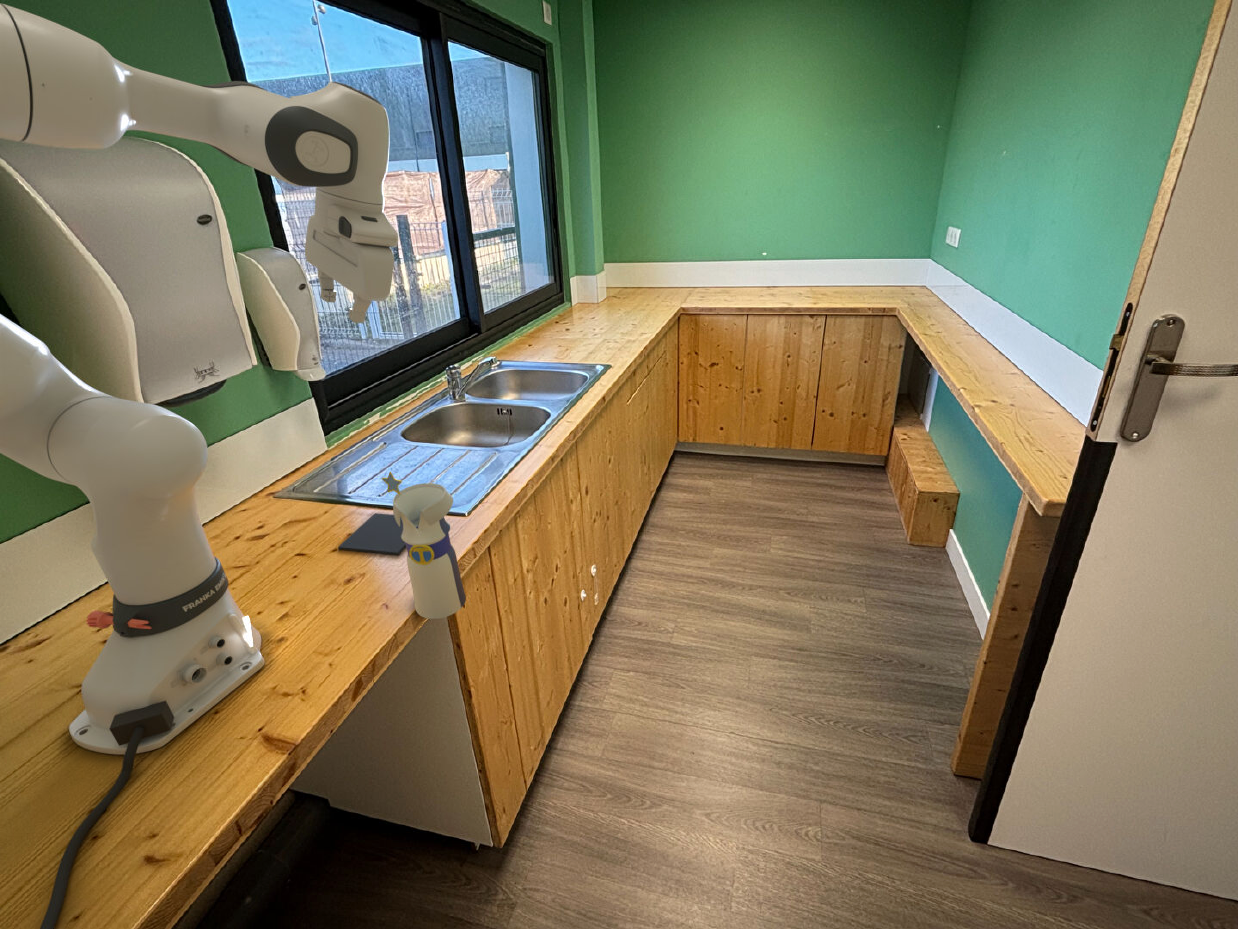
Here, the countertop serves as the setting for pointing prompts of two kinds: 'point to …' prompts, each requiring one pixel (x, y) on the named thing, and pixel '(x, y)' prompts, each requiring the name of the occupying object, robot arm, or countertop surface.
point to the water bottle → (428, 547)
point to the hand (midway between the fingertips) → (341, 310)
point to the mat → (377, 536)
